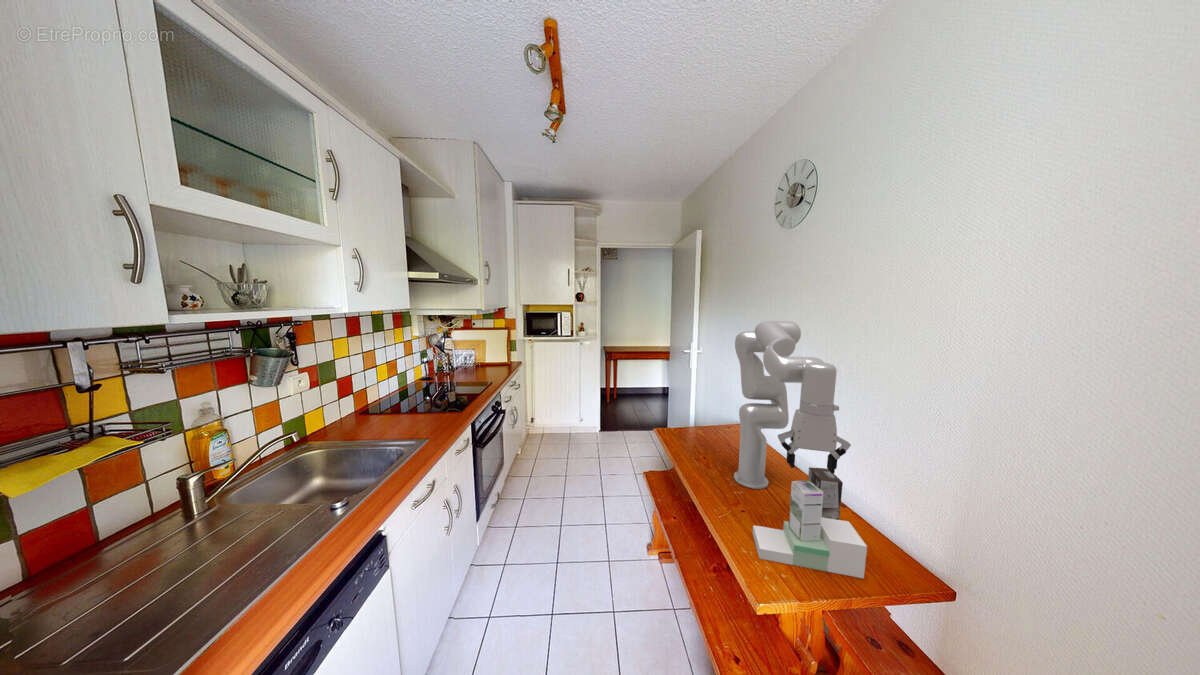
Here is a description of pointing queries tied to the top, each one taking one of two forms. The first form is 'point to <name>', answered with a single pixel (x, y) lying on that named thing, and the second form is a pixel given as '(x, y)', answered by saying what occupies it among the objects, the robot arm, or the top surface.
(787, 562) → the stepped riser
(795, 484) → the syrup box
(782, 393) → the robot arm
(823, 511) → the coffee box
